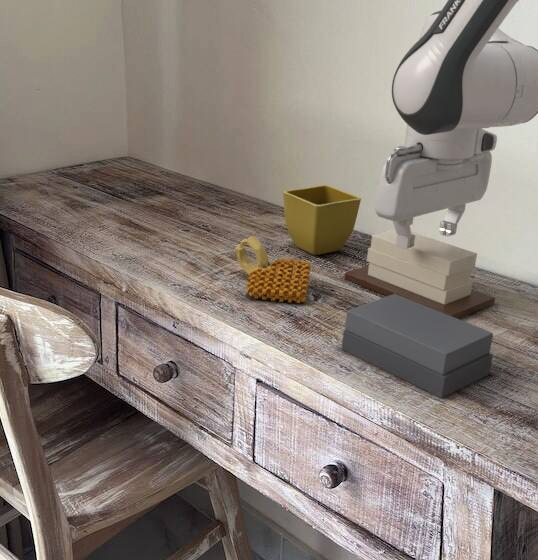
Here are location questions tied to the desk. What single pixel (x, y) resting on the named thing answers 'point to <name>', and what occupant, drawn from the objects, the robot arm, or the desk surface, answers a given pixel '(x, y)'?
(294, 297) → the ornament
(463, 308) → the cream stack
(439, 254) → the cream book
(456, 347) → the grey stack
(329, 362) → the desk surface
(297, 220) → the flower pot
